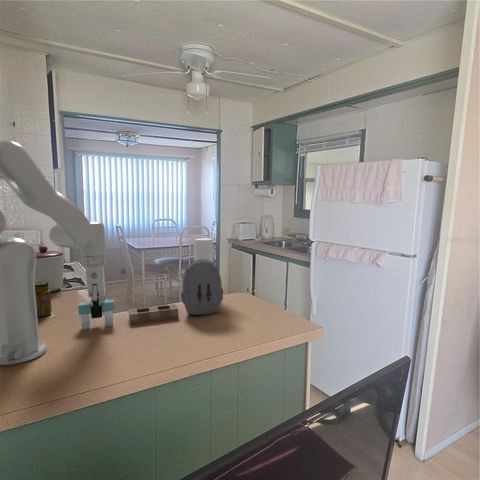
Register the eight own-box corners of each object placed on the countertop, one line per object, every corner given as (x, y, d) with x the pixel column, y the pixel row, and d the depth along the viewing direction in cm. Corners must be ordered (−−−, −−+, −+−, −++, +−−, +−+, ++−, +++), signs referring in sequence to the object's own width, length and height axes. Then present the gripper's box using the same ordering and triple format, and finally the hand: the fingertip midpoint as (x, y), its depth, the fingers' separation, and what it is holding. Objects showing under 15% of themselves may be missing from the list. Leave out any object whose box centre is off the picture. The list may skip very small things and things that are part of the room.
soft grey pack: (221, 308, 128) (220, 256, 126) (225, 315, 120) (224, 260, 118) (180, 312, 124) (178, 258, 122) (182, 320, 116) (181, 262, 114)
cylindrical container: (197, 301, 138) (196, 240, 135) (195, 297, 144) (193, 238, 142) (215, 300, 140) (213, 239, 137) (212, 295, 146) (210, 238, 144)
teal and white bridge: (114, 325, 112) (113, 301, 111) (79, 330, 108) (78, 305, 108) (114, 322, 115) (113, 299, 114) (80, 326, 111) (79, 303, 110)
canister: (62, 283, 172) (60, 242, 170) (72, 290, 159) (69, 245, 156) (20, 289, 161) (17, 245, 159) (26, 297, 147) (22, 249, 145)
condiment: (51, 311, 128) (48, 280, 127) (56, 317, 122) (53, 284, 120) (28, 315, 124) (26, 283, 122) (32, 321, 117) (29, 287, 116)
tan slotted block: (178, 318, 118) (178, 308, 118) (130, 324, 112) (129, 314, 112) (175, 313, 124) (175, 303, 123) (129, 319, 118) (128, 309, 118)
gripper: (106, 263, 103) (109, 322, 105) (106, 255, 118) (109, 307, 120) (78, 265, 100) (82, 325, 102) (82, 257, 116) (86, 309, 118)
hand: (97, 315), depth 111 cm, fingers open, 3 cm apart
